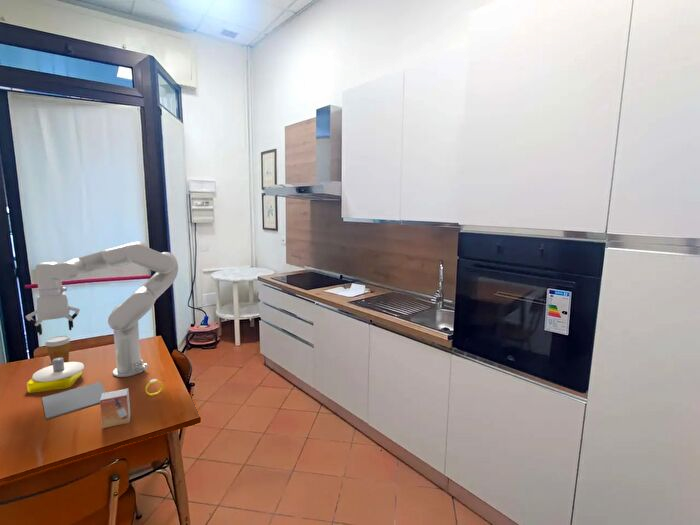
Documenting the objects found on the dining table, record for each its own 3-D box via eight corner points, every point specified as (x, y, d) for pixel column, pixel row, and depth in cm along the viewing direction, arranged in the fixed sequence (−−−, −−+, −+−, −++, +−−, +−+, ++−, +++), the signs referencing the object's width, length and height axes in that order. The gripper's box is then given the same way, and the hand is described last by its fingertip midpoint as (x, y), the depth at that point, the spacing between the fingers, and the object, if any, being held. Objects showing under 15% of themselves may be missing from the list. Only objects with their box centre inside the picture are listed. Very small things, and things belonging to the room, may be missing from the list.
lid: (86, 372, 150) (85, 359, 149) (33, 386, 139) (31, 372, 138) (81, 360, 162) (80, 348, 162) (31, 371, 151) (30, 358, 150)
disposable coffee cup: (69, 356, 176) (66, 333, 174) (75, 361, 171) (73, 338, 169) (44, 363, 168) (41, 339, 167) (51, 368, 163) (48, 344, 161)
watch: (147, 398, 140) (144, 384, 138) (146, 395, 142) (143, 381, 141) (163, 392, 143) (161, 379, 142) (162, 390, 145) (160, 376, 144)
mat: (110, 400, 137) (109, 398, 137) (46, 419, 124) (45, 418, 124) (100, 382, 151) (100, 381, 151) (42, 398, 138) (41, 397, 138)
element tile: (25, 394, 142) (24, 383, 141) (43, 377, 155) (41, 367, 155) (70, 388, 147) (69, 377, 146) (83, 372, 160) (82, 362, 160)
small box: (101, 429, 119) (98, 400, 118) (104, 420, 124) (101, 392, 123) (129, 423, 123) (127, 394, 121) (130, 414, 128) (128, 387, 126)
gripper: (77, 287, 154) (81, 325, 156) (23, 293, 143) (29, 333, 146) (77, 290, 148) (81, 330, 150) (21, 296, 137) (27, 338, 140)
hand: (55, 331), depth 148 cm, fingers open, 9 cm apart
